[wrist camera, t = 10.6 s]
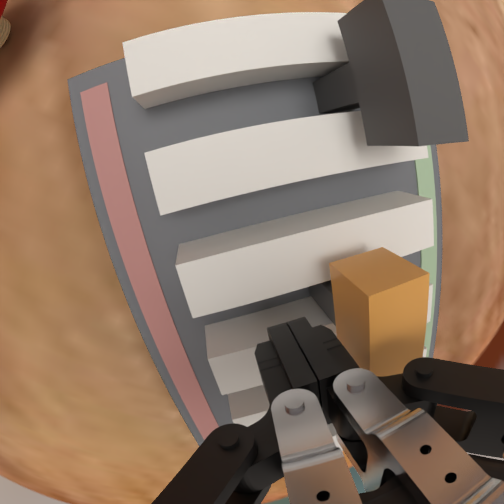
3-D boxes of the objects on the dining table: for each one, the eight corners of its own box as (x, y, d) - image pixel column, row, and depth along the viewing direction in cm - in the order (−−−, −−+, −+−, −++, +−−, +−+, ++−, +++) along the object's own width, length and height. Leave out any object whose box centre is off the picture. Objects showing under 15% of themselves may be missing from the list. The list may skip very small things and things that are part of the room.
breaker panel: (204, 431, 22) (218, 539, 13) (86, 90, 14) (-16, 35, 4) (410, 362, 24) (477, 433, 15) (385, 44, 16) (498, 0, 6)
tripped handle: (310, 321, 17) (368, 406, 10) (296, 236, 15) (368, 296, 9) (348, 308, 17) (418, 382, 10) (340, 224, 15) (429, 272, 9)
